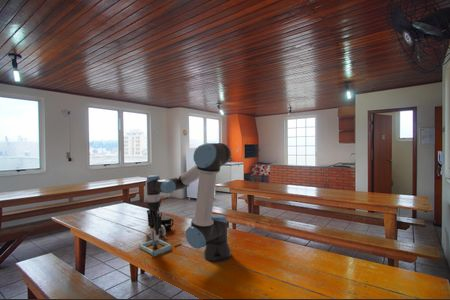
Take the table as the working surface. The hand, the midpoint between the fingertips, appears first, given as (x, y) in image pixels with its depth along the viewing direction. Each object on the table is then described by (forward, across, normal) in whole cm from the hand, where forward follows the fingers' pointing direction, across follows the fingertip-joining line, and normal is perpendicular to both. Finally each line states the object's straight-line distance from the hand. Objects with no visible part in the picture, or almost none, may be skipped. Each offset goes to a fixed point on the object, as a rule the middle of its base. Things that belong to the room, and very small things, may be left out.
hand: (155, 239), depth 153 cm
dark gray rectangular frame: (+7, 0, -12) cm, 13 cm away
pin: (+5, 0, 0) cm, 5 cm away
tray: (+7, 0, 0) cm, 7 cm away
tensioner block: (+7, +13, -8) cm, 17 cm away
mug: (+7, +22, -24) cm, 33 cm away
